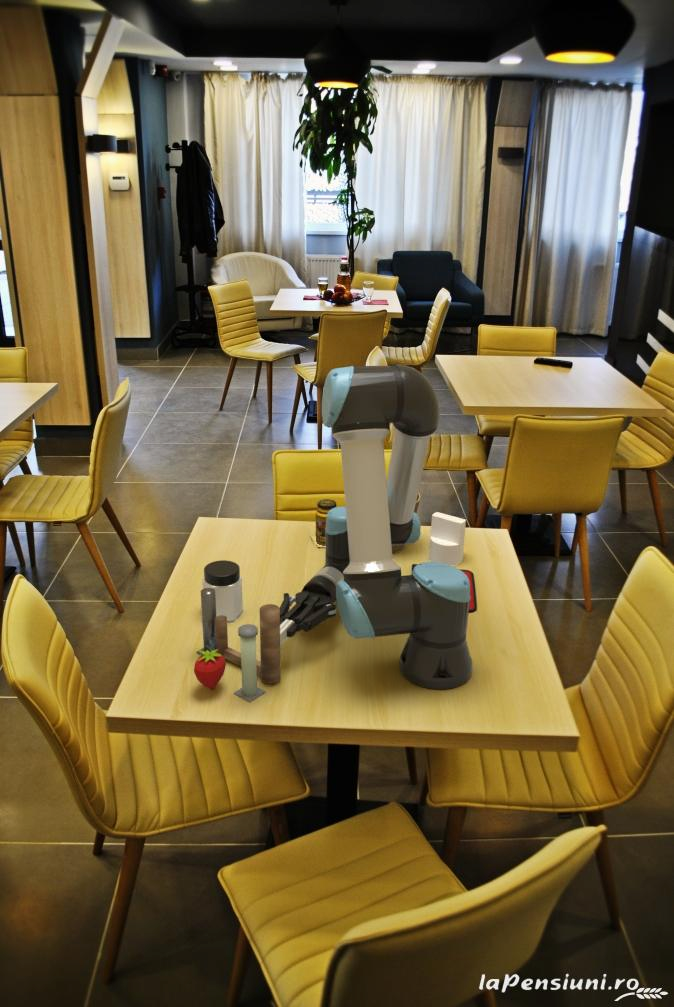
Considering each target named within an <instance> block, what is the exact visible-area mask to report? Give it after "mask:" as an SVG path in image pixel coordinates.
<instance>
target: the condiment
mask: <svg viewBox="0 0 674 1007" xmlns="http://www.w3.org/2000/svg"><path fill="white" fill-rule="evenodd" d="M316 506H317V507H316V509H317V510H316V511H315V535H316V542H317V544H319V545H322V546H326V531H325V528H326V518H327V513H328V512H329V511H330V510H331V509H333V508H335V507H337V502H336V500H334V499H327V498H326V499H321V500H319V501H318V502H317V504H316Z"/></svg>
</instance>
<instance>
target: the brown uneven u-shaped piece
mask: <svg viewBox="0 0 674 1007" xmlns="http://www.w3.org/2000/svg"><path fill="white" fill-rule="evenodd" d="M215 623H216V644H217V649H219V650H217V652H218V653H220V654H221V655H223V656H224V658H225V660H228V661H230V662H232V663H234V664H236V665H238V666H240V667H241V651H239V650H235V649H233V648H231V647H229V637H228V635H229V634H228V622H227V617H226V616H224V615H219V616H217V617H216V618H215ZM259 642H260V643H259V644H260V645H259V647H260V648H259V652H260V653H259V654H260V660H258V659H256V661H257V675H259V676H260V679H261V681H263V682H264V683H267V684H273V683H277V682H280V680H281V678H282V677H281V669H282V668H281V646H280V606H278V605H276V604H273V603H267V604H263V605H262V606H260V607H259Z"/></svg>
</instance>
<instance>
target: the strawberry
mask: <svg viewBox="0 0 674 1007" xmlns="http://www.w3.org/2000/svg"><path fill="white" fill-rule="evenodd" d="M206 646H207V645H206ZM207 647H208V646H207ZM208 648H209V647H208ZM209 649H210V648H209ZM210 650H211V649H210ZM217 650H219V649H217ZM217 650H214V651H212V650H211V652H209V651H208V650H207V651H206V652H205V651H199V652H200V653H201V654H203V655H200V656H199V657H198V658H197V659H196V660H195V662H194V669H193V672H194V673H193V674H194V676H195V678H196V680H197V681H198V682H199V683H200V684H201V685H202V686H203V687H205V688H207V689H208V690H209V691H213V690H214V689H216V687H217V685H218V684H219V683H220V682H221V679H222V678H223V676H224V674H225V670H226V664H227V662H226V659H225V658H224V656H223V655H221V654H220V653H218V652H216V651H217Z"/></svg>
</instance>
